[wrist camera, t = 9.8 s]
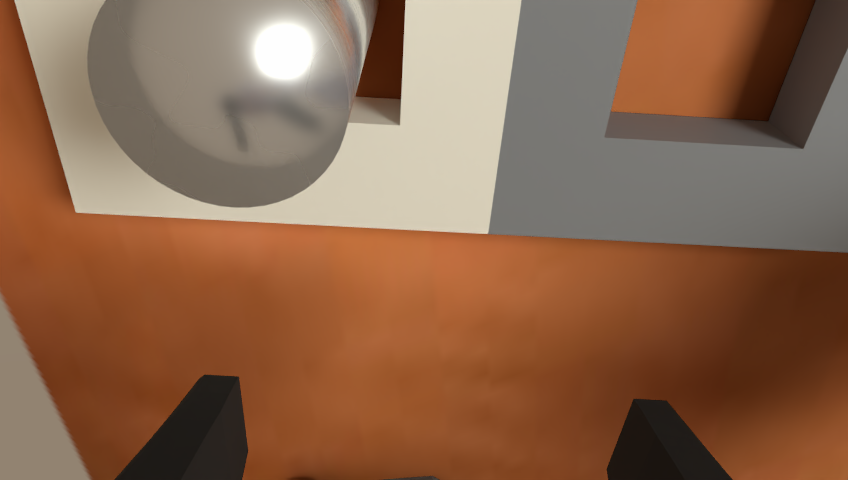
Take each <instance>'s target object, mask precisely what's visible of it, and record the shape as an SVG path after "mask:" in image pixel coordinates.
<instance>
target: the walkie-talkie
mask: <svg viewBox="0 0 848 480" xmlns="http://www.w3.org/2000/svg"><path fill="white" fill-rule="evenodd" d="M384 480H439V479H437V478H435V477H434V476H425V477H411V478H398V479H384Z"/></svg>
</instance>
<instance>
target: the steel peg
mask: <svg viewBox="0 0 848 480" xmlns="http://www.w3.org/2000/svg"><path fill="white" fill-rule="evenodd" d="M378 3H379V0H106V1H105V2H104V4H103V5H102V7H101V8H100V10H99V12H98V14H97V17H96V19H95V21H94V23H93V26H92V30H91V34H90V38H89V44H88V53H87V66H88V77H89V83H90V88H91V92H92V95H93V98H94V102H95V105H96V107H97V109H98V112H99V114H100V116H101V118H102V121H103V122H104V124H105V126H106V127H107V129H108V131H109V133H110V134H111V136H112V137H113V139H114V140H115V141H116V143H117V144H118V145H119V146H120V148H121V149H122V150H123V151H124V152H125V154H126V155H127V156H128V157H129V158H130V159H131V160H132V161H133V162H134V163H135V164H136V165H137V166H139V167H140V168H141V169H142V170H143V171H144V172H145V173H147V174H148V175H149V176H151V177H152V178H154V179H155V180H156V181H158V182H159V183H161V184H163V185H164V186H166V187H168V188H170V189H171V190H173V191H175V192H177V193H180V194H182V195H184V196H186V197H189V198H192V199H195V200H198V201H201V202H204V203H208V204H213V205H217V206H224V207H234V208H250V207H258V206H265V205H269V204H273V203H277V202H280V201H283V200H285V199H288V198H291V197H293V196H294V195H296V194H298V193H300V192H302V191H304V190H305V189H306V188H308V187H309V186H310V185H312V184H313V183H314V182H315V181H316V180H317V179H318V178H319V177H320V176H321V175H322V174H323V173H324V172H325V171H326V170H327V168H328V167H329V166H330V164H331V163H332V162H333V160H334V158H335V157H336V155H337V153H338V151H339V149H340V147H341V144H342V141H343V138H344V136H345V132H346V128H347V125H348V121H349V117H350V113H351V110H352V106H353V102H354V98H355V95H356V91H357V87H358V83H359V80H360V76H361V72H362V68H363V65H364V61H365V57H366V53H367V50H368V46H369V42H370V38H371V35H372V31H373V27H374V23H375V20H376V15H377V11H378Z"/></svg>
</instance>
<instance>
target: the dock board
mask: <svg viewBox="0 0 848 480" xmlns="http://www.w3.org/2000/svg"><path fill="white" fill-rule="evenodd" d="M14 1H15V4H16V8H17V11H18V14H19V18H20V21H21V25H22V28H23V32H24V35H25V39H26V42H27V45H28V49H29V52H30V56H31V59H32V63H33V66H34V70H35V73H36V76H37V80H38V83H39V87H40V90H41V94H42V97H43V101H44V104H45V107H46V111H47V114H48V118H49V121H50V125H51V128H52V132H53V135H54V138H55V142H56V145H57V149H58V152H59V156H60V159H61V163H62V166H63V169H64V173H65V176H66V180H67V183H68V187H69V190H70V194H71V197H72V200H73V204H74V207H75V211H76V213H94V214H113V215H132V216H151V217H171V218H190V219H209V220H229V221H248V222H267V223H286V224H306V225H325V226H344V227H364V228H383V229H402V230H421V231H441V232H460V233H479V234H499V235H518V236H537V237H556V238H576V239H595V240H614V241H634V242H653V243H672V244H691V245H711V246H730V247H749V248H769V249H788V250H807V251H826V252H846V253H848V0H816V1H815V4H814V6H813V9H812V11H811V14H810V17H809V19H808V22H807V24H806V27H805V29H804V32H803V34H802V37H801V39H800V42H799V44H798V47H797V49H796V52H795V55H794V57H793V60H792V62H791V65H790V67H789V70H788V72H787V75H786V77H785V80H784V82H783V85H782V87H781V90H780V93H779V95H778V98H777V100H776V103H775V105H774V108H773V110H772V113H771V115H770V118H769V120H768V121H756V120H740V119H723V118H706V117H689V116H673V115H656V114H639V113H623V112H611V107H612V103H613V99H614V95H615V91H616V87H617V83H618V78H619V74H620V70H621V66H622V62H623V58H624V54H625V50H626V45H627V41H628V37H629V33H630V29H631V25H632V21H633V17H634V12H635V8H636V4H637V0H406V1H405V23H404V46H403V69H402V92H401V99H388V98H371V97H355V98H354V102H353V106H352V110H351V113H350V117H349V121H348V125H347V128H346V132H345V136H344V138H343V141H342V144H341V147H340V149H339V151H338V153H337V155H336V157H335V158H334V160H333V162H332V163H331V164H330V166H329V167H328V168H327V170H326V171H325V172H324V173H323V174H322V175H321V176H320V177H319V178H318V179H317V180H316V181H315V182H314V183H313V184H312V185H310V186H309V187H308V188H306V189H305V190H304V191H302V192H300V193H298V194H296V195H294V196H293V197H291V198H288V199H285V200H283V201H280V202H277V203H273V204H269V205H265V206H258V207H250V208H234V207H224V206H217V205H213V204H208V203H204V202H201V201H198V200H195V199H192V198H189V197H186V196H184V195H182V194H180V193H177V192H175V191H173V190H171V189H170V188H168V187H166V186H164V185H163V184H161V183H159V182H158V181H156V180H155V179H154V178H152V177H151V176H149V175H148V174H147V173H145V172H144V171H143V170H142V169H141V168H140V167H139V166H137V165H136V164H135V163H134V162H133V161H132V160H131V159H130V158H129V157H128V156H127V155H126V154H125V152H124V151H123V150H122V149H121V148H120V146H119V145H118V144H117V143H116V141H115V140H114V139H113V137H112V136H111V134H110V133H109V131H108V129H107V127H106V126H105V124H104V122H103V121H102V118H101V116H100V114H99V112H98V109H97V107H96V105H95V102H94V98H93V95H92V92H91V88H90V83H89V77H88V66H87V53H88V44H89V38H90V34H91V30H92V26H93V23H94V21H95V19H96V17H97V14H98V12H99V10H100V8H101V7H102V5H103V4H104V2H105V1H106V0H14Z"/></svg>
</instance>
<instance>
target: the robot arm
mask: <svg viewBox="0 0 848 480" xmlns="http://www.w3.org/2000/svg"><path fill="white" fill-rule="evenodd" d="M247 454H248V446H247V438H246V430H245V422H244V414H243V406H242V398H241V390H240V382H239V377H235V376H217V375H204V376H202V377H201V378H200V379H199V380H198V381H197V382H196V383H195V385H194V386H193V387H192V389H191V390H190V391H189V392H188V394H187V395H186V396H185V398H184V399H183V400H182V401H181V403H180V404H179V405H178V406H177V408H176V409H175V410H174V411H173V412H172V414H171V415H170V416H169V417H168V419H167V420H166V421H165V422H164V423H163V425H162V426H161V427H160V428H159V429H158V431H157V432H156V433H155V434H154V435H153V437H152V438H151V439H150V440H149V441H148V442H147V444H146V445H145V446H144V447H143V448H142V449H141V450H140V451H139V453H138V454H137V455H136V456H135V457H134V458H133V459H132V460H131V462H130V463H129V464H128V465H127V466H126V467H125V468H124V470H123V471H122V472H121V473H120V474H119V475H118V476H117V477H116V478H115V480H242V477H243V472H244V468H245V463H246V458H247ZM607 474H608V480H732V479H731V477H730V476H729V475H728V474H727V473H726V471H725V470H724V469H723V468H722V467H721V466H720V464H719V463H718V462H717V461H716V460H715V458H714V457H713V456H712V455H711V454H710V452H709V451H708V450H707V449H706V448H705V446H704V445H703V444H702V443H701V442H700V440H699V439H698V438H697V437H696V436H695V434H694V433H693V432H692V431H691V430H690V428H689V427H688V426H687V425H686V424H685V422H684V421H683V420H682V419H681V418H680V416H679V415H678V414H677V413H676V412H675V410H674V409H673V408H672V407H671V406H670V404H669V403H668V402H667V401H662V400H644V399H634V400H633V402H632V405H631V407H630V410H629V413H628V415H627V418H626V420H625V423H624V426H623V428H622V431H621V434H620V436H619V439H618V441H617V444H616V447H615V449H614V452H613V454H612V457H611V460H610V462H609V465H608V467H607Z"/></svg>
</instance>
